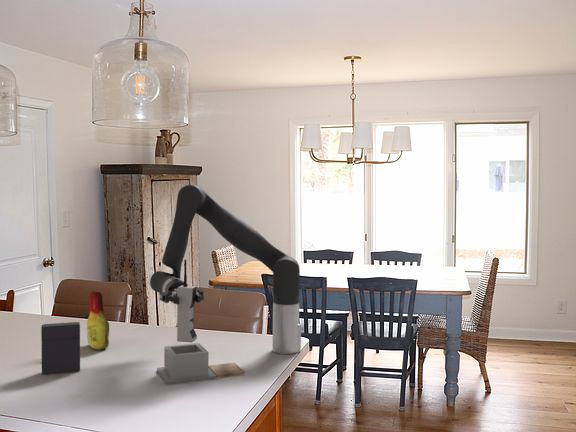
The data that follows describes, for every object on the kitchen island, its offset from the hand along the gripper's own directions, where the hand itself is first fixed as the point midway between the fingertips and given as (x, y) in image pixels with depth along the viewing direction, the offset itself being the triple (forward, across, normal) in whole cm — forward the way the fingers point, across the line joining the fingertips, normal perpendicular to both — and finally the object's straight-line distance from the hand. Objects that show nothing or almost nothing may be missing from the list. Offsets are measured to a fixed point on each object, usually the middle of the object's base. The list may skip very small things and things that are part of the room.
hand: (188, 300), depth 174 cm
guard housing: (-2, 0, +24) cm, 24 cm away
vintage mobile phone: (-3, 0, +13) cm, 14 cm away
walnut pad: (-1, +12, +24) cm, 27 cm away
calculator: (-19, -36, +23) cm, 47 cm away
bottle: (-43, -22, +24) cm, 54 cm away
